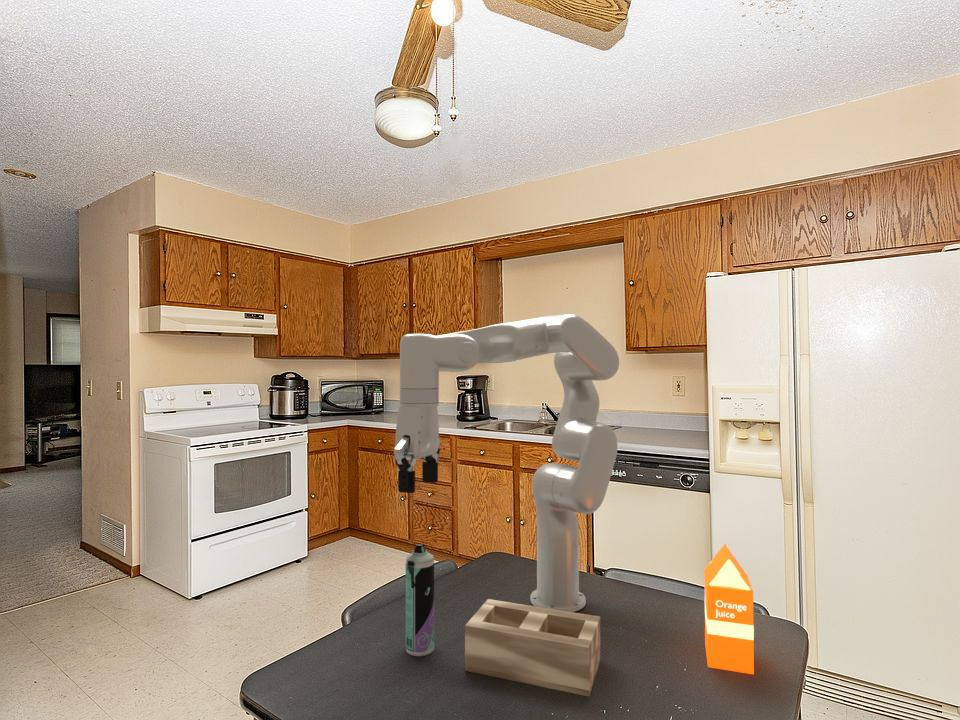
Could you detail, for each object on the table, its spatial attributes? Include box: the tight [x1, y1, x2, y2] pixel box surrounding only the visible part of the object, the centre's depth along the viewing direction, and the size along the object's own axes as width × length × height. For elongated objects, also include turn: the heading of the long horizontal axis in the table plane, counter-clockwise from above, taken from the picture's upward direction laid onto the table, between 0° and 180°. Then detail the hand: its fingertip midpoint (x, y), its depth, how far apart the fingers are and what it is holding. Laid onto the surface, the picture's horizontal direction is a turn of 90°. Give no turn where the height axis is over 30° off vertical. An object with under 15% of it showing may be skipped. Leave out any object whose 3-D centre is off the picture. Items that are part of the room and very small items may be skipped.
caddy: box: [464, 598, 601, 697], centre depth 101 cm, size 12×22×8 cm, turn 69°
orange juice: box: [703, 542, 755, 675], centre depth 103 cm, size 8×9×20 cm
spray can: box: [405, 543, 435, 657], centre depth 107 cm, size 6×6×20 cm
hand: (418, 487), depth 107 cm, fingers open, 9 cm apart
